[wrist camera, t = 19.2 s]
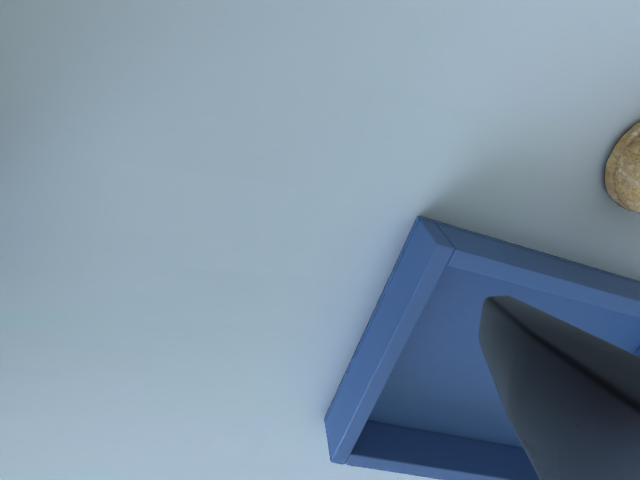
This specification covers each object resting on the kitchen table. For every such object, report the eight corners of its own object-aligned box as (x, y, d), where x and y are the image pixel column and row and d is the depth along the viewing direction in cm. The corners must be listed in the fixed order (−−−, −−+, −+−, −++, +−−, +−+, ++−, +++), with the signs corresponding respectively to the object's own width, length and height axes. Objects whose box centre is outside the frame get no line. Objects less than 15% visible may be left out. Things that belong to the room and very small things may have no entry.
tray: (323, 419, 26) (330, 463, 24) (417, 215, 21) (437, 243, 19) (558, 460, 30) (585, 502, 27) (684, 294, 25) (731, 326, 23)
